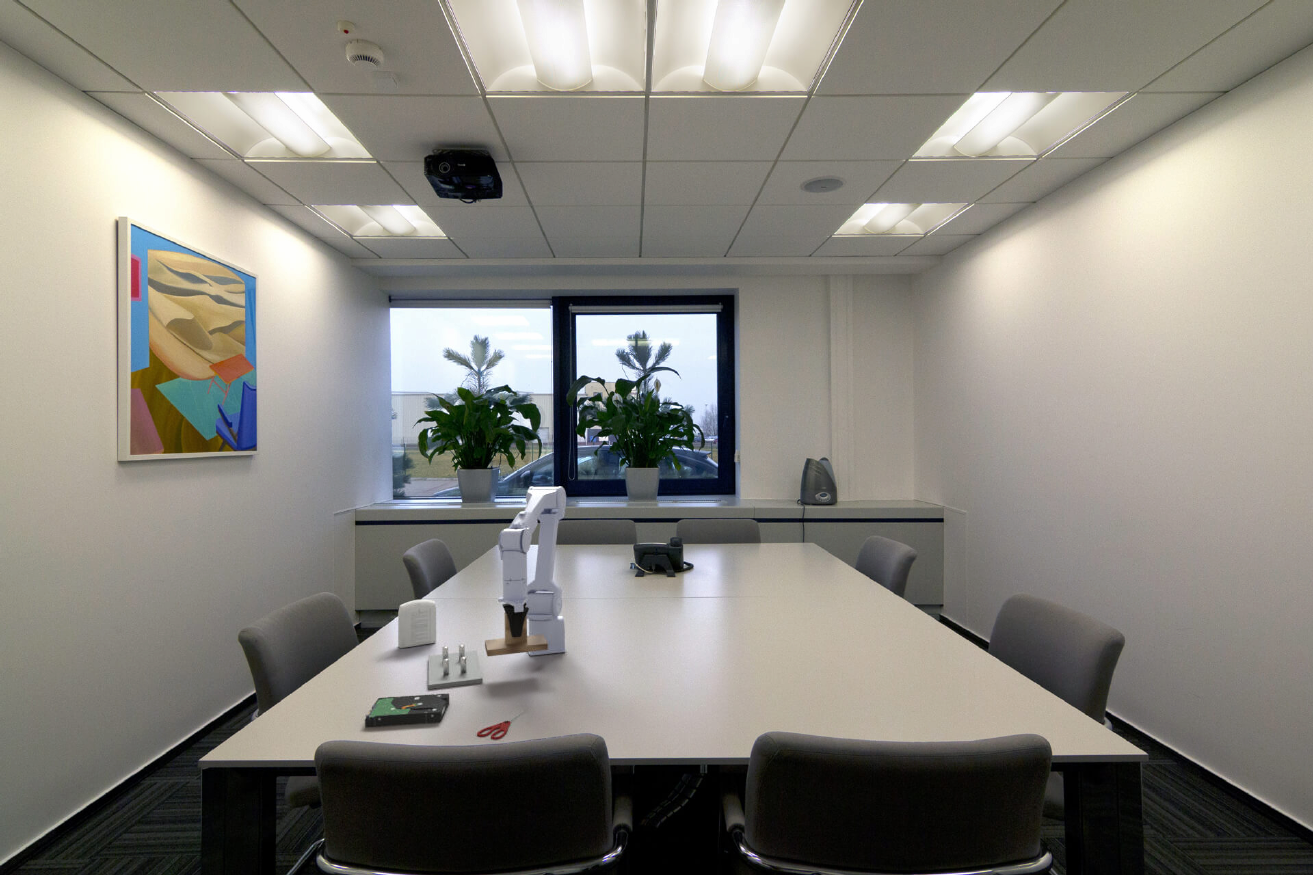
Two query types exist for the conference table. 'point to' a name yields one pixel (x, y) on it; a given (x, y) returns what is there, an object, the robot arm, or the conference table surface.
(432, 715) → the disk drive
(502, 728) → the scissors
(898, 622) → the conference table surface
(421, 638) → the white upright slab
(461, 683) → the peg stand
